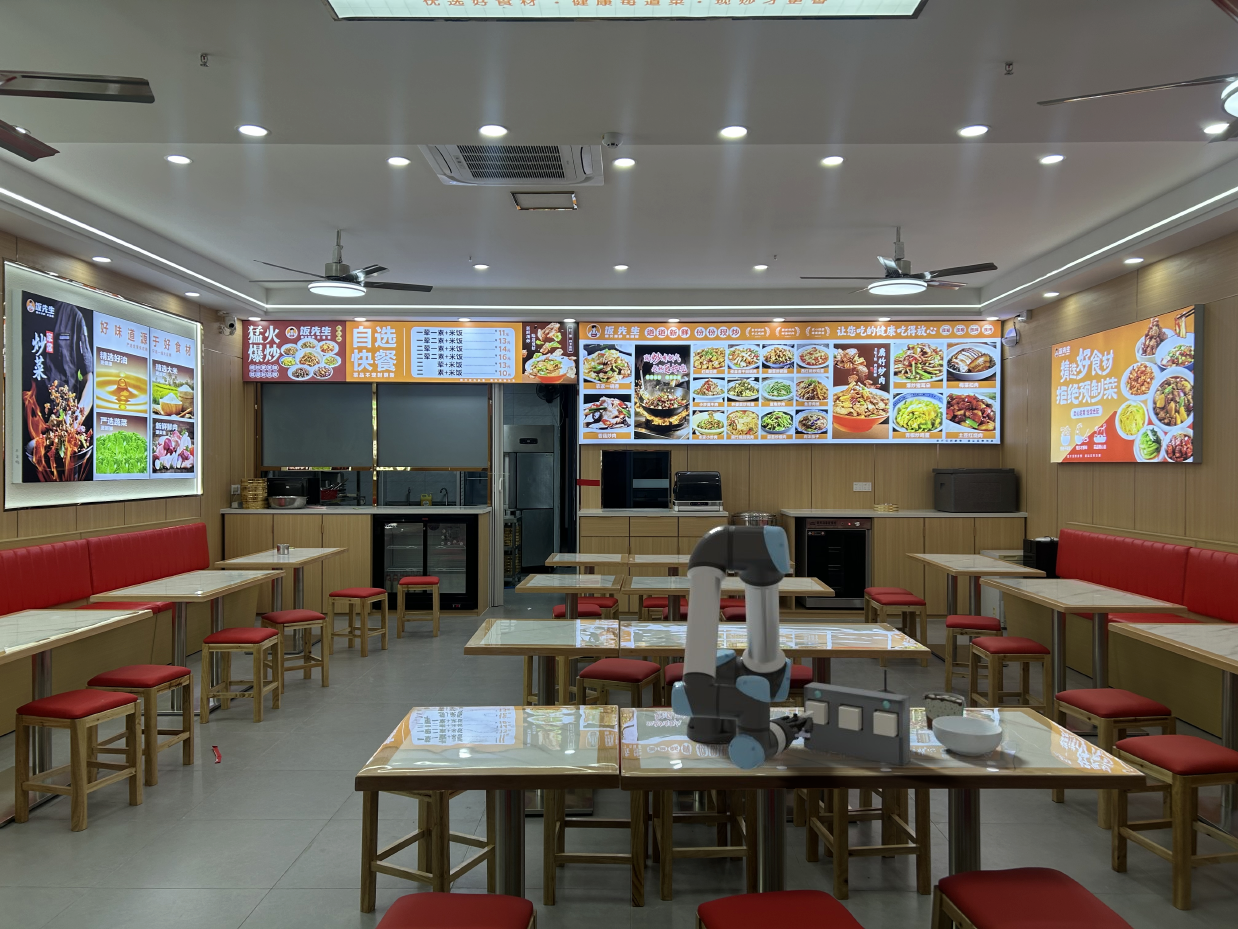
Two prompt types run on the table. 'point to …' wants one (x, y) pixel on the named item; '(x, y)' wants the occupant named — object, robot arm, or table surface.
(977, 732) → the cereal bowl
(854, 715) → the key middle
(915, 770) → the table surface
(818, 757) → the table surface
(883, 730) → the key right
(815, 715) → the key left
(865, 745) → the keypad
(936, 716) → the mint chip dessert
